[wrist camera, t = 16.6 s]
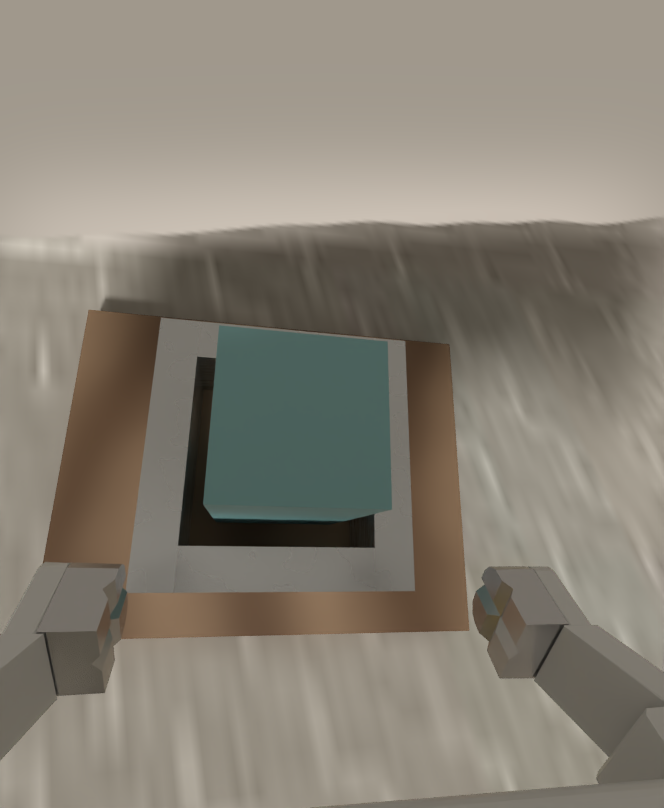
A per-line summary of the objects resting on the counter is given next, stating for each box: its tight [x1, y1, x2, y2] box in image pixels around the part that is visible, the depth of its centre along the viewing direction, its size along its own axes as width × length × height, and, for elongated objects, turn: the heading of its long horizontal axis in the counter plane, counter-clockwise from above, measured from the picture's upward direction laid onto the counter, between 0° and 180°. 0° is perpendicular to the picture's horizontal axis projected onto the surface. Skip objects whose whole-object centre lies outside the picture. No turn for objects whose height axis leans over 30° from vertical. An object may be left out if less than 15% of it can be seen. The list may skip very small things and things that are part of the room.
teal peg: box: [203, 325, 392, 525], centre depth 17 cm, size 5×5×9 cm
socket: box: [126, 318, 415, 593], centre depth 20 cm, size 10×10×4 cm
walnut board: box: [43, 310, 469, 639], centre depth 22 cm, size 18×14×1 cm
